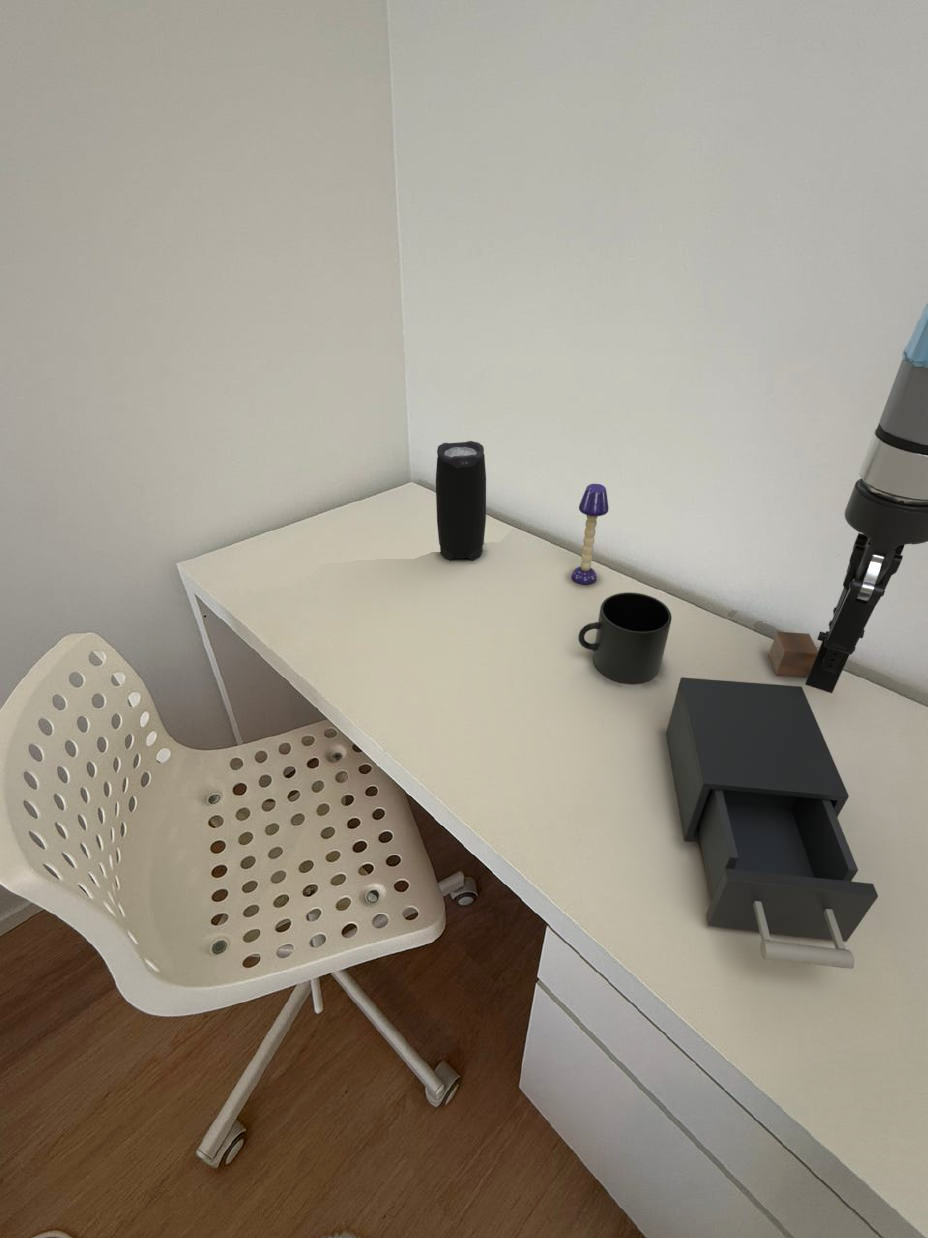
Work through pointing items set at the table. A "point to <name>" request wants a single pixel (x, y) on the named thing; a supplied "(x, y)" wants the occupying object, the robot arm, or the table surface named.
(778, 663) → the block
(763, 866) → the drawer
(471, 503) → the portable speaker
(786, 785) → the cabinet
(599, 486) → the toy lamp
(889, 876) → the table surface
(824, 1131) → the table surface
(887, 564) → the robot arm
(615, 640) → the mug
